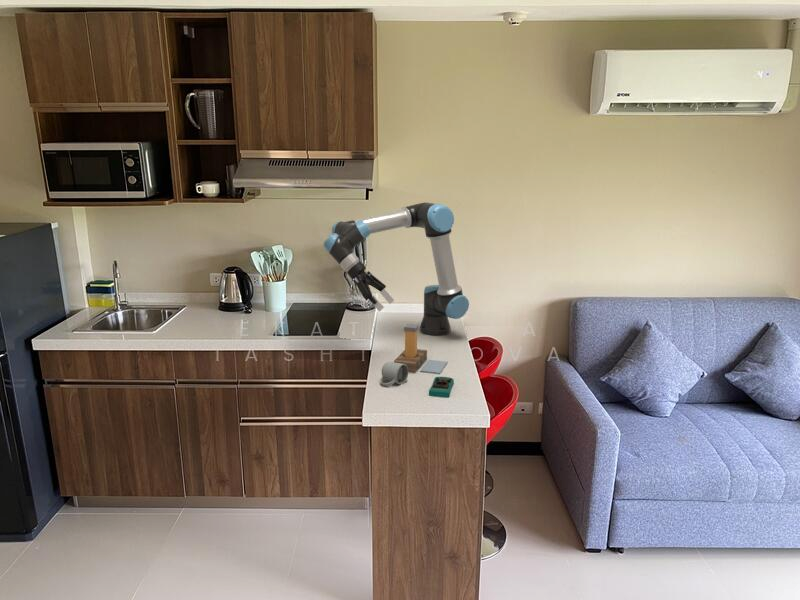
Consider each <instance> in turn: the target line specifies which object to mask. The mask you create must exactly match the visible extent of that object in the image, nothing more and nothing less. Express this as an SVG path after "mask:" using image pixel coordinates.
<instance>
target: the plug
mask: <svg viewBox="0 0 800 600" xmlns="http://www.w3.org/2000/svg"><path fill="white" fill-rule="evenodd" d="M418 330H420V325H419V324H412V323H411V324H410V323H407V324H405V326H404V327H403V331H404V350H405V357H410V358H416V357H417V349H418Z"/></svg>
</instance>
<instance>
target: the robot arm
mask: <svg viewBox="0 0 800 600" xmlns="http://www.w3.org/2000/svg"><path fill="white" fill-rule="evenodd" d="M454 223H455V217H454V212H453V211H452V209H450V207H448V206H447V205H444V204H441V203H432V202H419V203H415V204H412V205H409V206H408V205H407V206H404V207H402V208H401V209H399V210H395V211H390V212H385V213H381V214H376V215H372V216H367V217H361V218H357V219H351V220H348V221H336V222H334V224H333V225H332V227H331V233H332V234H330V236H328V237H327V238H326V239H325V240H324V241H323V247H324V248H325V250H326V251H327V252H328V255H330V256H331V257H332V258H333V259H334V260H335V261H336V262H337V264H339V266H340V267H341V269H342V270H344V272H346V273H347V275H348V276H349V277H350V278H351V280H353V282H354V283H355V285H356V286H357V288H358V290H359V292H360V294H361V295H362V298H363V299H364V300H365V301H369V302H370V303H371V304H372V305H373V306H374V307H375V309H376V310H377V311H378V312H381V311H382V310H383V309H384V308H385V306H384V305H383V304H382V302H381V301H380V300H379V299H378V298H377V296H375V294H373V293H372V291H371V288H370V287H372V288H374V289H375V290H378V292H379V293H380V295H382V297H383V299H385V301H386V302H388V304H389V305H391V304H392V303H393V302H394V301H396V300H395V298H394V297H393V296H392V294H390V292H389V291H388V290H387V289H386V288H387V285H386V284H384V283H383V281H381V280H379V279H378V278H377V277H376V276H375V275H373V273H371V271H369V270H368V271H365V270H366V267H367V266H366V265H365V264H364V263H363V262H362V261H360V259H359V257H358V256H357V255H356V254H355V253H354V252H353V251H352V250H353V249H355V248H356V247H357V246H358V245H360V244H361V243H362V242H363V241H365V240H366V239H367V238H368V237H369V236H370V235H371V234H372V235H373V234H376V233H381V232H386V231H390V230H394V229H399V228H406V229H409V228H422V229H424V232H425V237H426V238H428V239H429V241H430V246H431V251H432V256H433V261H434V267H435V272H436V276H437V283H438V284H432V285H427V286H425V287H424V292H423V317H422V320H421V322H420V325H419V331H421V332H420V333H422V332H423V333H422V334H424V333H426V334H425V335H428V334H433V335H432V336H438V335H437V334H445V335H448V334H450V333H451V325H450V321H449V319H454V320H458V319H461V318H462V317H464V316H465V315H466V314H467V312H468V310H469V306H470V301H469V299H468V297H467V296H466V295H464V293H463V288H462V286H461V285H459V284H458V279H457V273H456V268H455V263H454V258H453V257H454V256H453V251H452V246H451V240H450V235H451V233H452V228H453V225H454ZM449 332H450V333H449ZM447 333H448V334H447Z"/></svg>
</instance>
